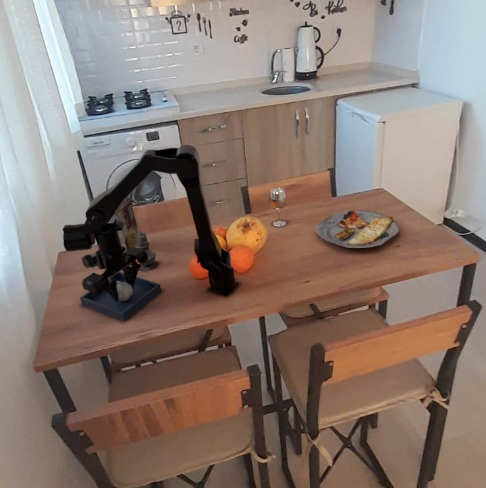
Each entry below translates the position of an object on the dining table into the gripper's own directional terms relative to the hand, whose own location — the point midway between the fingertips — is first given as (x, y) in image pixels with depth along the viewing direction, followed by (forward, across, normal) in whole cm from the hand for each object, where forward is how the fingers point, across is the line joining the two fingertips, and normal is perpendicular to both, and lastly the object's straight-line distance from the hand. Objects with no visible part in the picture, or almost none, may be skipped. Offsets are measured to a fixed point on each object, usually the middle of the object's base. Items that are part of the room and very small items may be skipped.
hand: (123, 295), depth 128 cm
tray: (+1, 0, -1) cm, 2 cm away
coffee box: (+2, -20, -19) cm, 28 cm away
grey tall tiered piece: (+2, -16, -6) cm, 17 cm away
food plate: (+2, -58, +44) cm, 73 cm away
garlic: (+1, 0, 0) cm, 1 cm away
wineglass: (+2, -55, +18) cm, 58 cm away
